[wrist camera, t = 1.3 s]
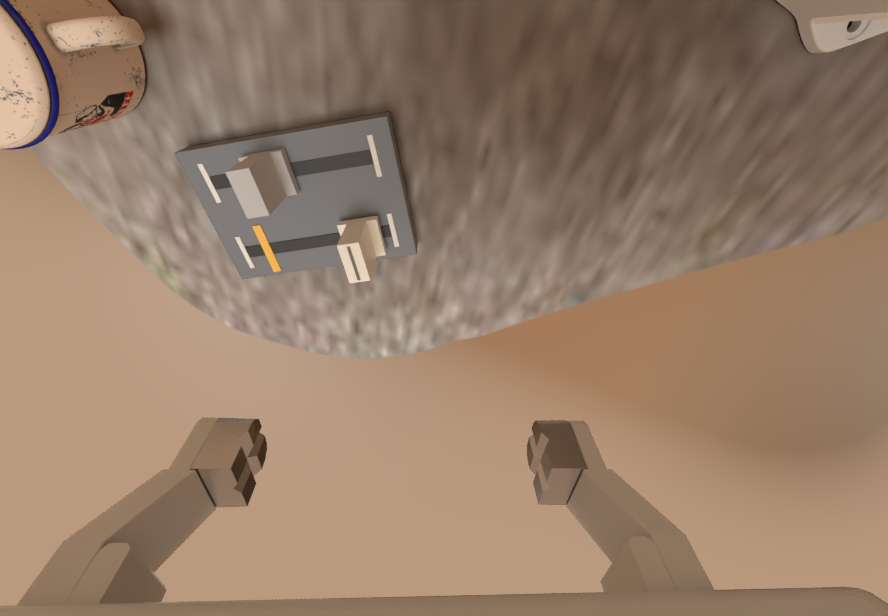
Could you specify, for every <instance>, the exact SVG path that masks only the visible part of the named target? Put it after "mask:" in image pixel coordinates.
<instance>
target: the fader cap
mask: <svg viewBox="0 0 888 616" xmlns="http://www.w3.org/2000/svg"><path fill="white" fill-rule="evenodd" d="M337 227H338V230H339V233H340V236H341V237H340V240H339V242H338V244H337V248H338V251H339V254H340V257H341V260H342V263H343V265H344V268H345V271H346V274H347V277H348V280H349V283H356V282H363V281H370V279H371V276H372V272H373V268H374V264H375V260H376V257H377V256H384V255H386V252H387V250H386V246H385V242H384V239H383V235H382V231H381V227H380V224H379V220H378V216H372V217H365V218H359V219H352V220H346V221H339V222H338V224H337Z"/></svg>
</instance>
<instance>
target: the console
mask: <svg viewBox="0 0 888 616" xmlns="http://www.w3.org/2000/svg"><path fill="white" fill-rule="evenodd" d="M174 154H175V156H176V157H177V159H178V161H179V163H180V165H181V167H182V168H183V170H184V172H185V174H186V176H187V178H188V180H189V181H190V183H191V185H192V187H193V189H194V191H195V193H196V194H197V196H198V198H199V200H200V202H201V204H202V206H203V207H204V209H205V211H206V213H207V215H208V217H209V219H210V220H211V222H212V224H213V226H214V228H215V230H216V232H217V233H218V235H219V237H220V239H221V241H222V243H223V245H224V246H225V248H226V250H227V252H228V254H229V256H230V257H231V259H232V261H233V263H234V265H235V267H236V269H237V270H238V272H239V274H240V276H241V278H242V279H247V278H254V277H261V276H268V275H275V274H282V273H288V272H295V271H302V270H309V269H316V268H323V267H330V266H337V265H343V263H342V260H341V257H340V254H339V251H338V248H337V244H338V242H339V240H340V237H341V236H340V233H339V230H338V227H337V224H338V222H339V221H346V220H352V219H359V218H365V217H372V216H378V220H379V224H380V227H381V231H382V235H383V239H384V242H385V246H386V250H387V252H386V255H384V256H377V257H376V260H378V259H385V258H392V257H399V256H406V255H412V254H417V239H416V234H415V230H414V225H413V220H412V216H411V211H410V206H409V201H408V197H407V192H406V187H405V183H404V178H403V173H402V168H401V164H400V159H399V154H398V149H397V145H396V140H395V135H394V131H393V126H392V121H391V116H390V112H384V113H378V114H373V115H367V116H361V117H355V118H349V119H344V120H338V121H332V122H326V123H321V124H315V125H309V126H303V127H298V128H292V129H286V130H280V131H275V132H269V133H263V134H257V135H251V136H246V137H240V138H234V139H228V140H223V141H217V142H211V143H205V144H200V145H194V146H188V147H186V148H184V149H182V150H180V151H178V152H175V153H174Z"/></svg>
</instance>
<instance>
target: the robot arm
mask: <svg viewBox="0 0 888 616" xmlns="http://www.w3.org/2000/svg"><path fill="white" fill-rule="evenodd" d="M776 1H777V2H779V3H780V4H781V5H783V6H784V7H785V8H786V9H788V10H789V11H790V12H791V13H792V14H793V15H794V17H795V18H796V20H797V24H798V28H799V32H800V35H801V39H802V41H803V44H804V46H805V48H806V49H807V50H808V51H809V52H811V53H825V52H832V51H835V50H838V49H840V48H843V47H846V46H849V45H852V44H854V43H857V42H860V41H863V40H865V39H868V38H871V37H874V36H876V35H879V34H882V33H885V32H887V31H888V0H776ZM850 21H852V24H851V26H850V27H849V28H848V29H847V25H848V23H849V22H850ZM261 427H262V426H261V424H260V421H259V419H238V418H202V419H200V420H199V421H198V422H197V423H196V425H195V426H194V428H193V430H192V431H191V433H190V435H189V436H188V438H187V440H186V441H185V443H184V444H183V446H182V448H181V449H180V451H179V453H178V455H177V456H176V458H175V459H174V461H173V463H172V465H171V466H170V468H169V469H168V470H162V471H160V472H159V473H157V474H156V475H155V476H153V477H152V478H151V479H149V480H148V481H146V482H145V483H144V484H142V485H141V486H139V487H138V488H137V489H135V490H134V491H133V492H131V493H130V494H128V495H127V496H126V497H124V498H123V499H121V500H120V501H119V502H117V503H116V504H115V505H113V506H112V507H110V508H109V509H108V510H106V511H105V512H103V513H102V514H101V515H100V516H98V517H97V518H95V519H94V520H92V521H91V522H90V523H88V524H87V525H85V526H84V527H83V528H81V529H80V530H79V531H77V532H76V533H74V534H73V535H72V536H70V537H69V538H68V539H66V540H65V541H64V542H62V544H61V545H60V547H59V548H58V549H57V551H56V552H55V553H54V555H53V556H52V558H51V559H50V560H49V562H48V563H47V565H46V566H45V567H44V569H43V570H42V571H41V573H40V574H39V575H38V577H37V578H36V580H35V581H34V582H33V584H32V585H31V586H30V588H29V589H28V591H27V592H26V593H25V595H24V596H23V597H22V599H21V600H20V602H19V603H18V604H17V606H0V616H888V603H886V602H884V601H883V600H881V599H880V598H878V597H877V596H875V595H874V594H872V593H870V592H868V591H865V590H862V589H859V588H851V587H826V588H824V587H823V588H781V589H780V588H778V589H734V590H714V588H713V586H712V584H711V582H710V580H709V579H708V577H707V575H706V573H705V571H704V569H703V567H702V565H701V563H700V562H699V560H698V558H697V556H696V554H695V552H694V550H693V548H692V546H691V544H690V542H689V540H688V539H687V537H686V535H685V534H684V533H683V532H682V531H681V530H679V529H678V528H677V527H676V526H675V525H674V524H673V523H672V522H670V521H669V520H668V519H667V518H666V517H665V516H664V515H663V514H661V513H660V512H659V511H658V510H657V509H656V508H655V507H653V506H652V505H651V504H650V503H649V502H648V501H647V500H645V499H644V498H643V497H642V496H641V495H640V494H639V493H637V492H636V491H635V490H634V489H633V488H632V487H631V486H630V485H629V484H627V483H626V482H625V481H624V480H623V479H622V478H621V477H619V476H618V475H617V474H616V473H615V472H614V471H613V470H611V469H606V467H605V464H604V462H603V460H602V457H601V455H600V453H599V450H598V448H597V446H596V444H595V441H594V439H593V436H592V434H591V432H590V430H589V427H588V425H587V423H586V422H585V421H566V420H564V421H563V420H557V421H556V420H555V421H554V420H550V421H535V422H534V423H533V426H532V431H533V435H532V436H531V437H529V440H528V444H527V458H528V464H529V468H530V470H531V471H532V472H533V473H534V474H535V479H534V481H533V484H534V488H535V492H536V496H537V500H538V504H545V505H567V508H568V509H569V510H570V511H571V513H572V514H573V515H574V516H575V518H576V519H577V520H578V521H579V523H580V524H581V525H582V526H583V527H584V529H585V530H586V531H587V532H588V534H589V535H590V536H591V537H592V538H593V540H594V541H595V542H596V543H597V545H598V546H599V547H600V548H601V550H602V551H603V552H604V553H605V554H606V556H607V557H608V558H609V559H610V561H611V562H612V563H613V564H612V565H611V567H610V568H609V569H608V571H607V572H606V574H605V575H604V577H603V578H602V580H601V583H602V587H603V590H604V592H602V593H601V592H599V593H551V594H510V595H509V594H506V595H463V596H416V597H371V598H331V599H330V598H328V599H284V600H242V601H241V600H238V601H194V602H161V601H162V599H163V597H164V595H165V592H166V588H165V585H164V584H163V583H162V582H161V581H160V579H159V578H158V577H157V576H156V575H155V574H154V572H155V571H156V570H157V569H158V568H159V567H160V566H161V565H162V564H163V563H164V562H165V561H166V560H167V559H168V558H169V557H170V555H171V554H172V553H173V552H174V551H175V550H176V549H177V548H178V547H179V546H180V545H181V544H182V543H183V542H184V541H185V540H186V539H187V538H188V537H189V536H190V535H191V534H192V533H193V532H194V531H195V530H196V529H197V528H198V527H199V526H200V525H201V524H202V523H203V522H204V521H205V520H206V519H207V518H208V517H209V516H210V515H211V514H212V513H213V512H214V511H215V509H216V508H215V507H239V506H248V503H249V500H250V498H251V496H252V493H253V490H254V488H255V485H256V482H255V479H254V475H255V474H256V473H258V472H259V471H260V470H261V469H262V467H263V464H264V461H265V458H266V452H267V443H266V439H265V436H264V435H262V434H261V433H259V432H260V429H261Z"/></svg>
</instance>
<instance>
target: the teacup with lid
mask: <svg viewBox="0 0 888 616" xmlns="http://www.w3.org/2000/svg"><path fill="white" fill-rule="evenodd" d="M144 41H145V36H144V33H143V31H142V29H141V27H140V25H139V24H138V23H137V22H136V21H135V20H134V19H132V18H129V17H124V16H121V15H120V14H119V13H118V11H117V10H116V9H115V8H114V7H113V5H112V4H111V3H110V2H109V1H108V0H0V149H21V148H26V147H30V146H33V145H36V144H38V143H39V142H41V141H43V140H44V139H45V138H46V137H48V136H51V135H55V134H59V133H62V132H66V131H70V130H74V129H77V128H81V127H85V126H88V125H92V124H96V123H99V122H103V121H107V120H111V119H114V118H118V117H121V116H124V115H126V114H127V113H129V112H130V111H132V110H133V109H134V108H135V107H136V106H137V105H138V103H139V102H140V100H141V98H142V95H143V92H144V88H145V67H144V62H143V58H142V54H141V51H140V49H139V46H138V45H141V44H142V43H143V42H144Z"/></svg>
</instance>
